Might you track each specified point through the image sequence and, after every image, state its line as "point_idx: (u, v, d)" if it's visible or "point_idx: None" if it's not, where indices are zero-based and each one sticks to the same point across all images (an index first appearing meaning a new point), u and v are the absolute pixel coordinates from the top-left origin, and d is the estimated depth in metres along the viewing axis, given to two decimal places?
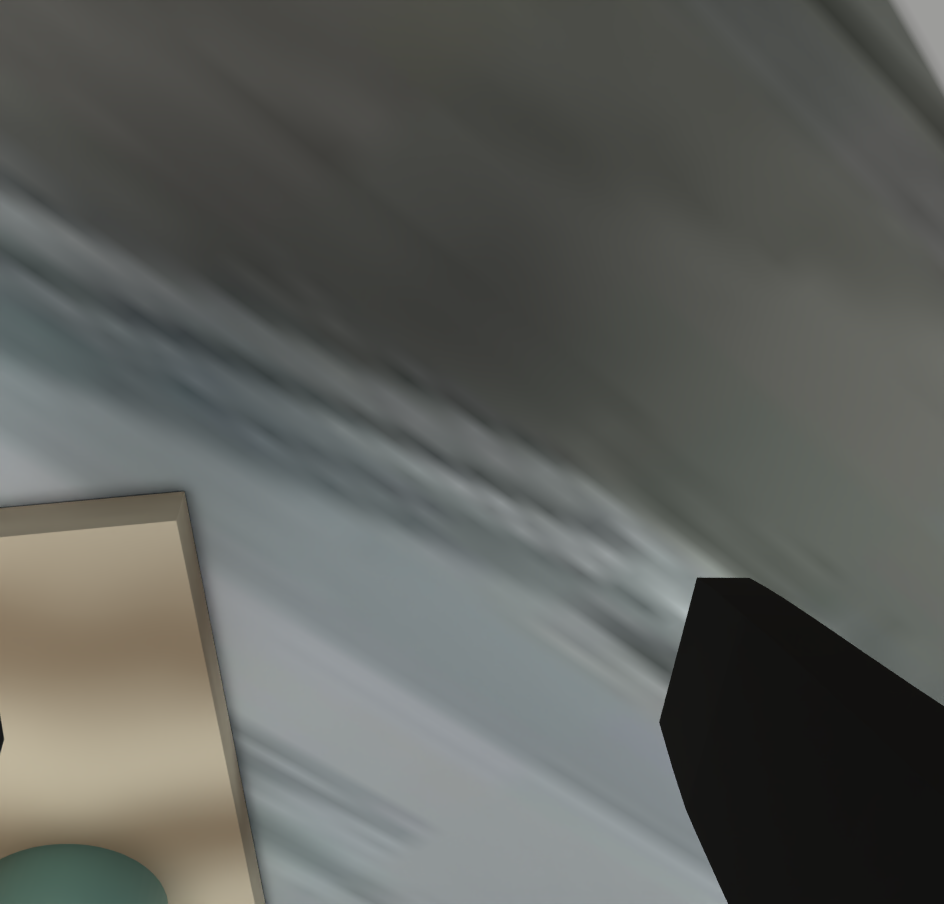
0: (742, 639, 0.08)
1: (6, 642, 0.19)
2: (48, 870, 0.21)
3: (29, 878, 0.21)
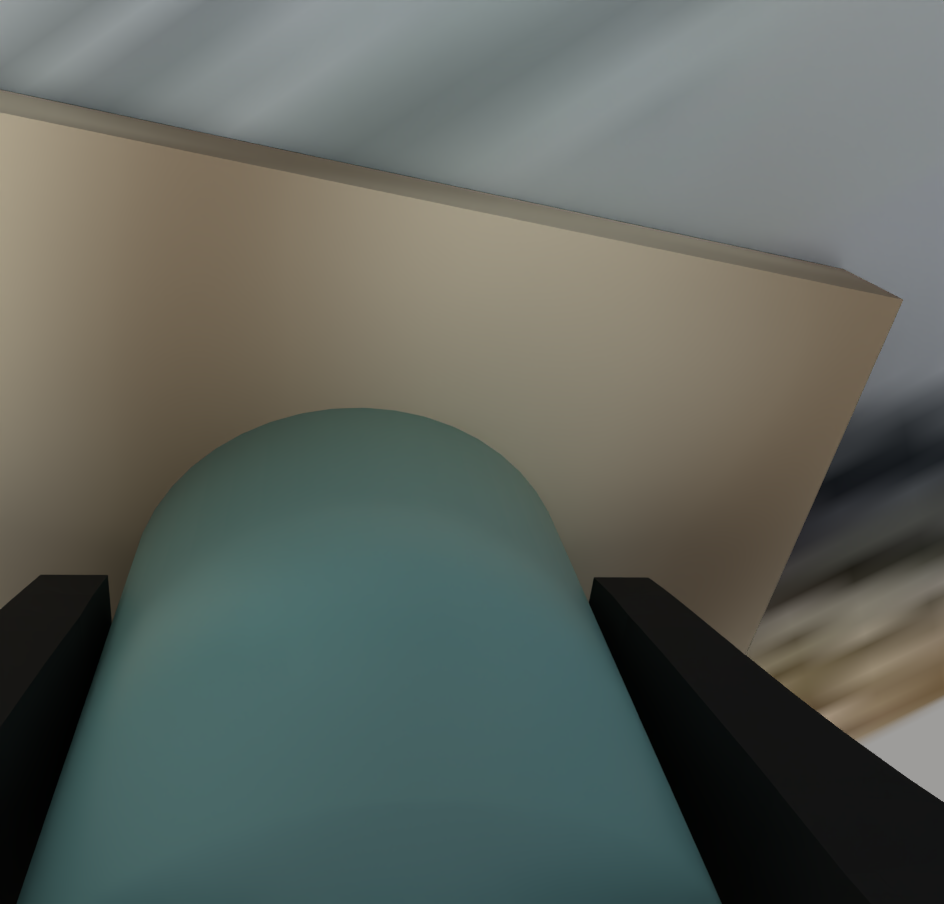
0: (628, 640, 0.08)
1: None
2: None
3: None
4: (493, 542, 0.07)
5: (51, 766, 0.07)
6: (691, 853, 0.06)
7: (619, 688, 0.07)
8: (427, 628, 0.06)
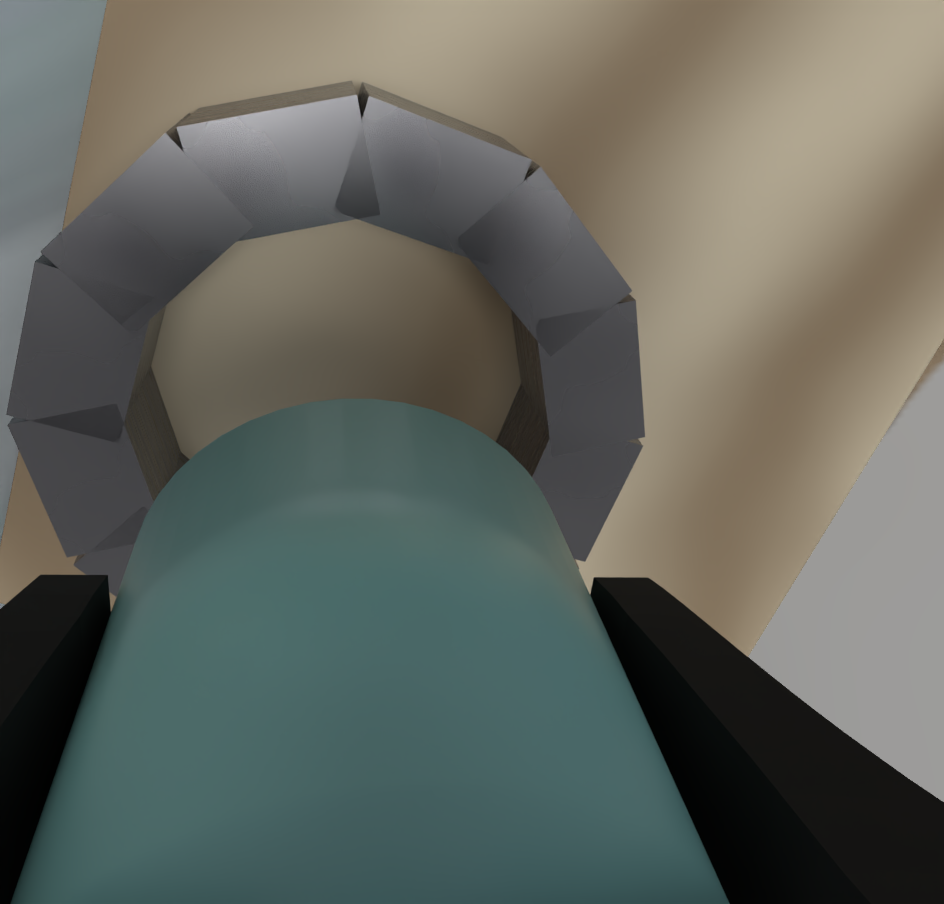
0: (627, 640, 0.08)
1: None
2: None
3: None
4: (504, 534, 0.07)
5: (51, 766, 0.07)
6: (699, 847, 0.06)
7: (626, 684, 0.07)
8: (441, 615, 0.06)
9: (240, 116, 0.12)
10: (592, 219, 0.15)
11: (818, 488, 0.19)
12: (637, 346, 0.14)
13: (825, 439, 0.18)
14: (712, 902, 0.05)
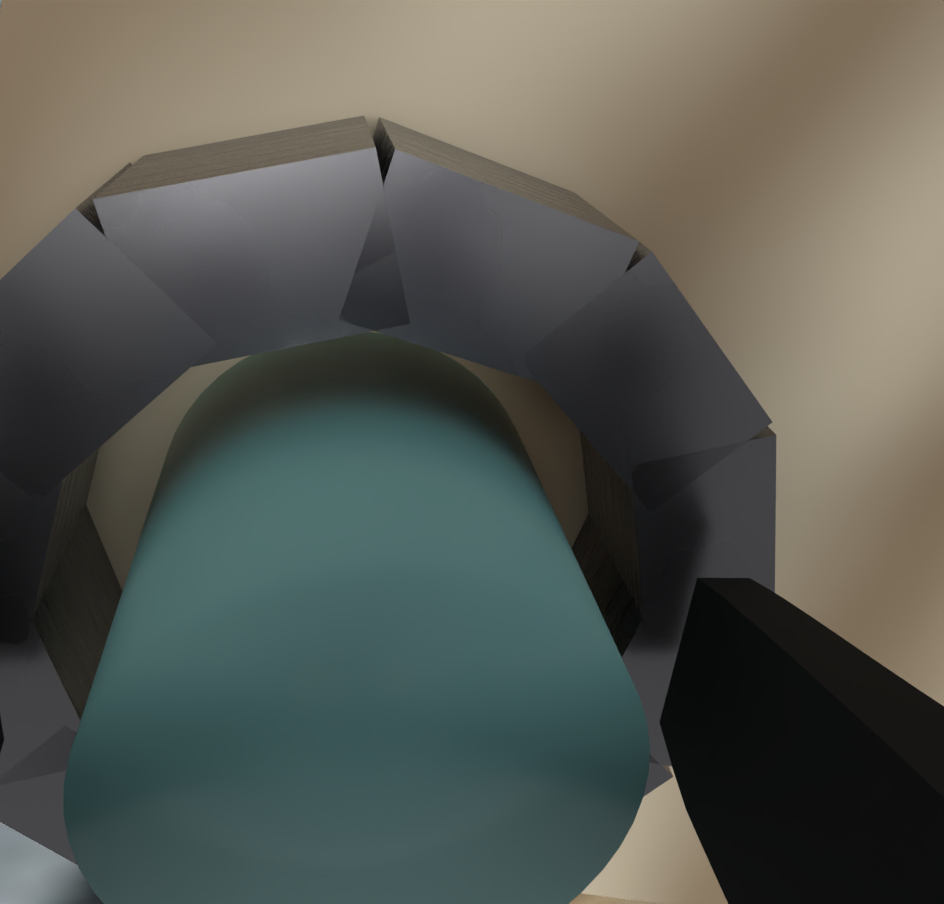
0: (742, 639, 0.08)
1: None
2: None
3: None
4: (470, 429, 0.09)
5: None
6: (609, 639, 0.07)
7: (564, 541, 0.09)
8: (417, 472, 0.08)
9: (193, 182, 0.07)
10: (694, 302, 0.11)
11: None
12: (771, 494, 0.10)
13: None
14: (616, 673, 0.07)
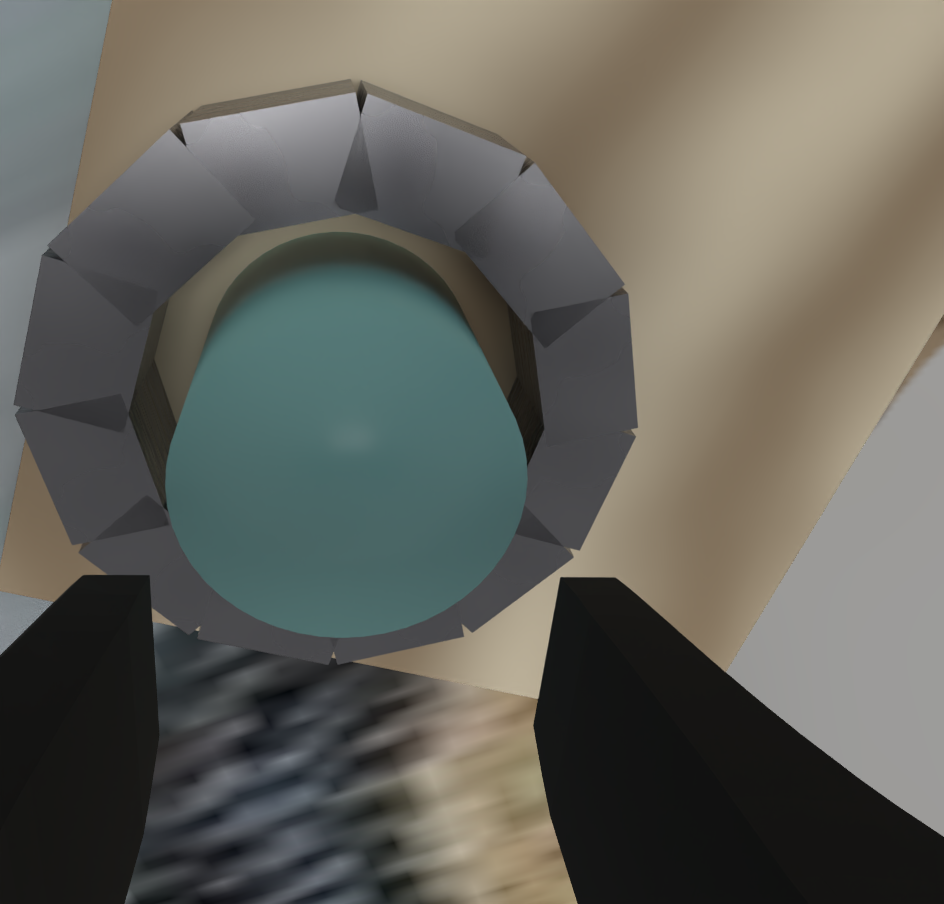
0: (590, 640, 0.08)
1: None
2: None
3: None
4: (419, 282, 0.14)
5: (102, 764, 0.07)
6: (498, 387, 0.12)
7: (479, 349, 0.13)
8: (379, 291, 0.12)
9: (242, 113, 0.12)
10: (586, 215, 0.16)
11: (809, 480, 0.19)
12: (630, 339, 0.15)
13: (816, 431, 0.19)
14: (500, 403, 0.12)
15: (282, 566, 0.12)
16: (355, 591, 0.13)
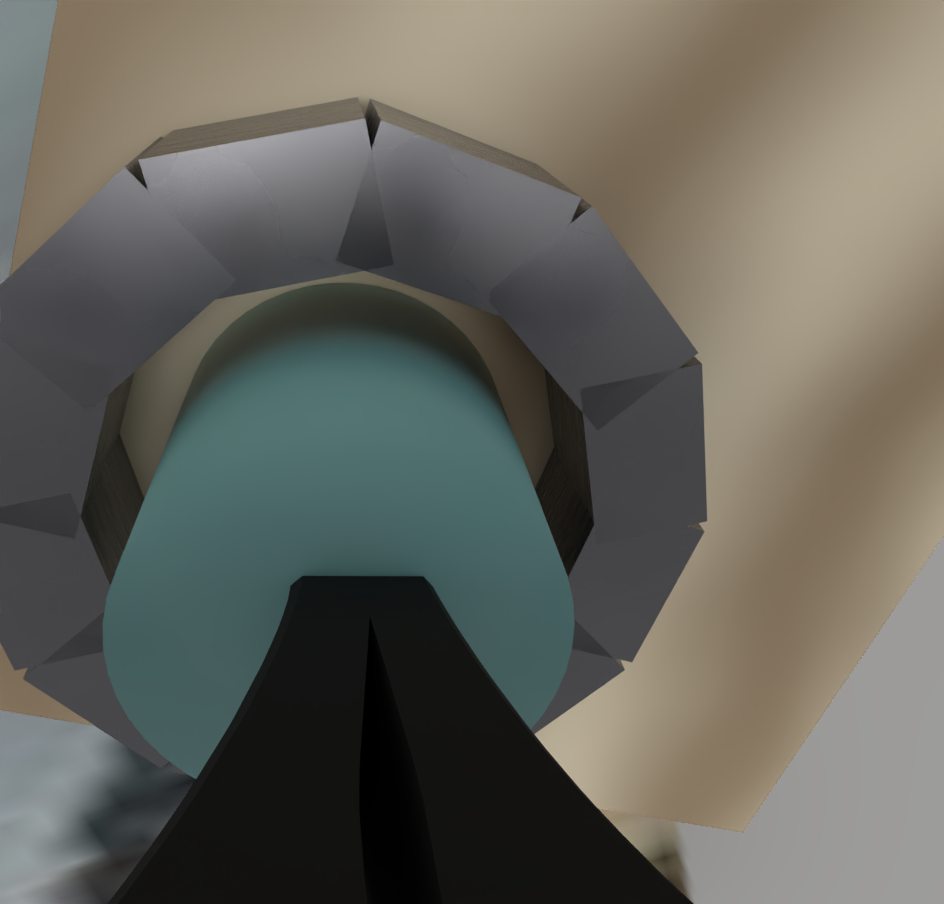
0: (370, 642, 0.08)
1: None
2: None
3: None
4: (434, 356, 0.11)
5: None
6: (536, 512, 0.09)
7: (511, 446, 0.10)
8: (381, 383, 0.09)
9: (219, 146, 0.09)
10: (641, 259, 0.13)
11: (890, 559, 0.16)
12: (701, 417, 0.12)
13: (901, 505, 0.16)
14: (539, 537, 0.09)
15: None
16: None
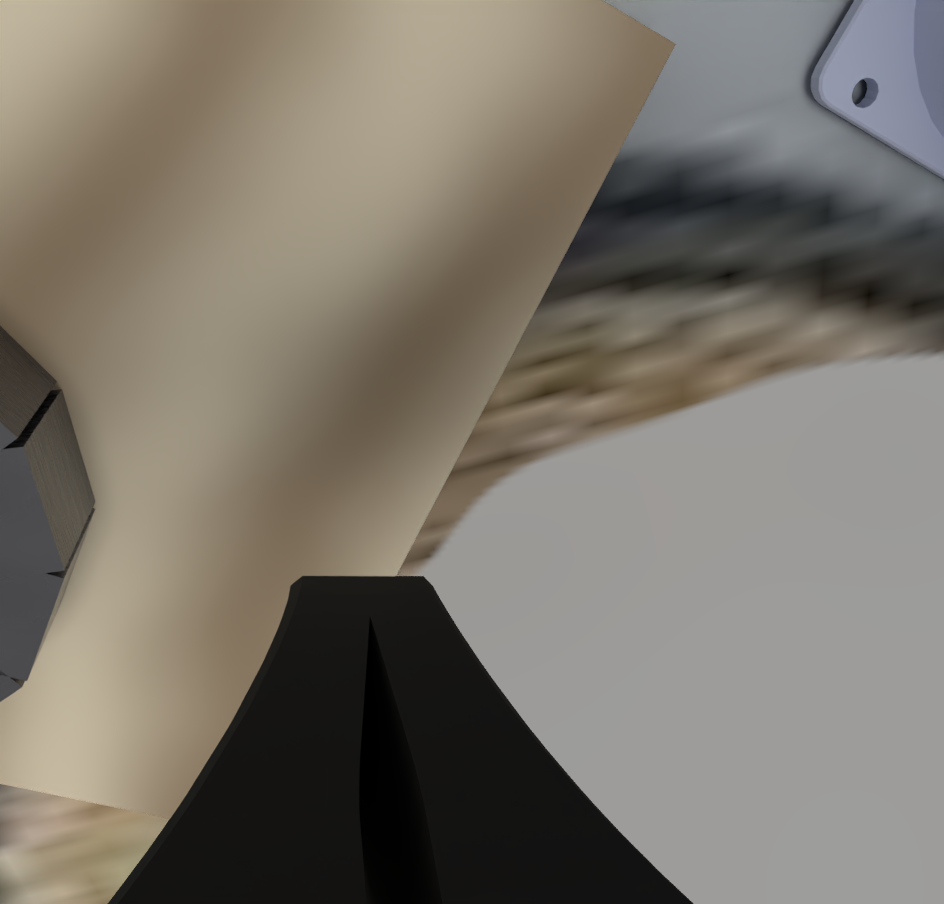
0: (370, 642, 0.08)
1: None
2: None
3: None
4: None
5: None
6: None
7: None
8: None
9: None
10: (52, 351, 0.16)
11: None
12: (39, 487, 0.15)
13: (340, 565, 0.19)
14: None
15: None
16: None
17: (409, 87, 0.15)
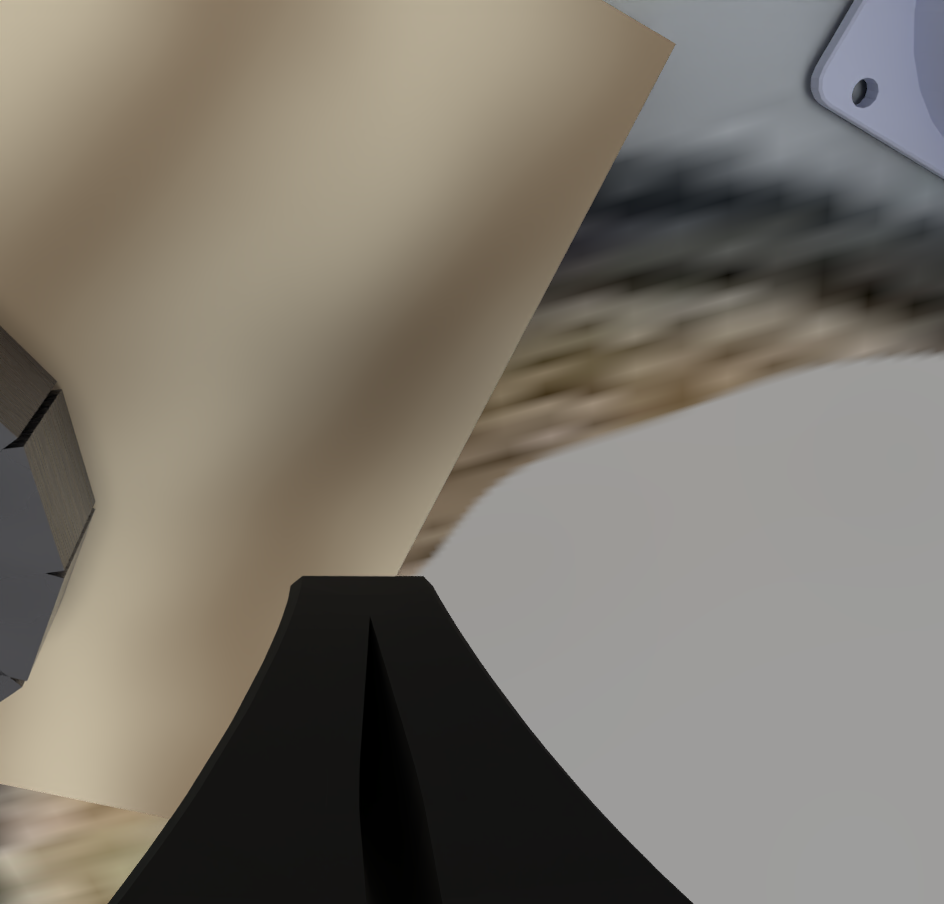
0: (370, 642, 0.08)
1: None
2: None
3: None
4: None
5: None
6: None
7: None
8: None
9: None
10: (52, 351, 0.16)
11: None
12: (39, 487, 0.15)
13: (340, 565, 0.19)
14: None
15: None
16: None
17: (409, 87, 0.15)
